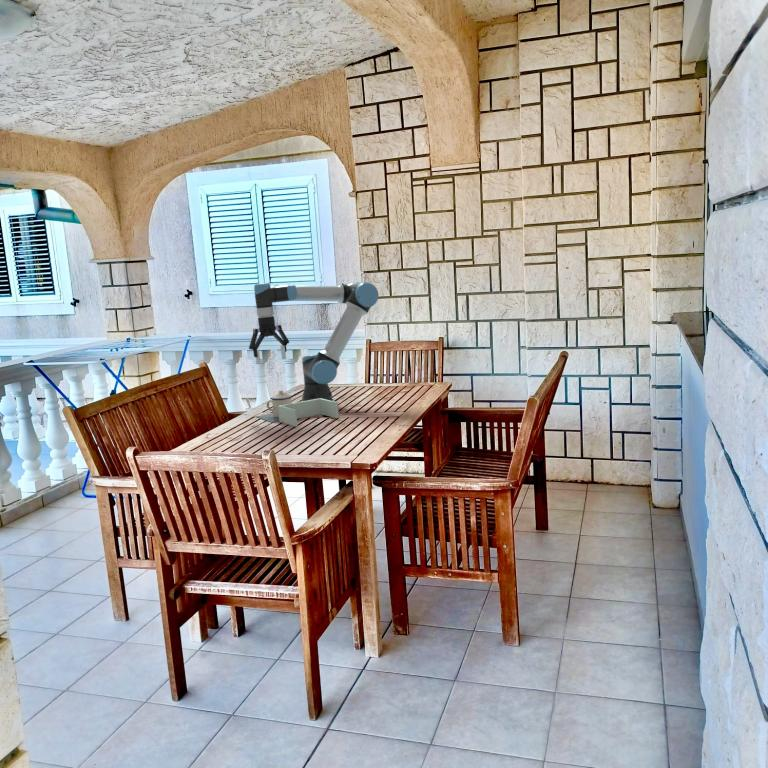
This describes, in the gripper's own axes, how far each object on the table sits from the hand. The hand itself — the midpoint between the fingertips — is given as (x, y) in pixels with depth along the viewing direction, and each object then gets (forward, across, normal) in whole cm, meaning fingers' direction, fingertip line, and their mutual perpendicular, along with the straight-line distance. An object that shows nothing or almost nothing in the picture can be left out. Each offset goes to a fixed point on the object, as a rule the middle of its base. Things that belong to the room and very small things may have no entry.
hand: (271, 361), depth 347 cm
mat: (+24, +6, +14) cm, 28 cm away
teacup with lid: (+24, +6, +14) cm, 28 cm away
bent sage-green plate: (+24, +2, +32) cm, 40 cm away
